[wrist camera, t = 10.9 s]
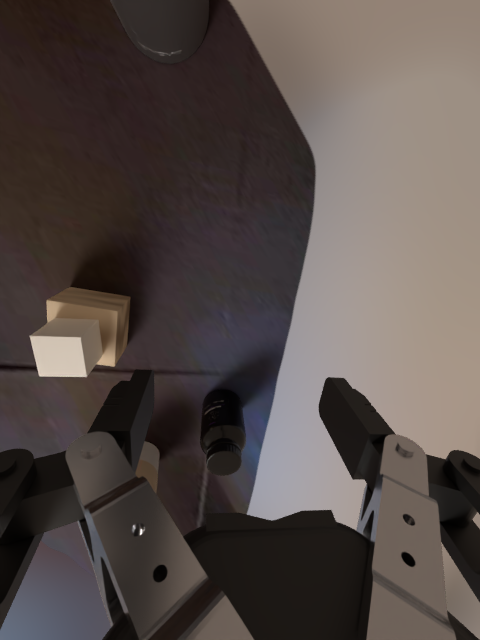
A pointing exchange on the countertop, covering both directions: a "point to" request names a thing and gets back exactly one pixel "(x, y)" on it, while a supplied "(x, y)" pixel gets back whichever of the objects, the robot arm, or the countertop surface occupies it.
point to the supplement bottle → (222, 432)
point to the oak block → (96, 317)
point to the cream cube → (67, 347)
